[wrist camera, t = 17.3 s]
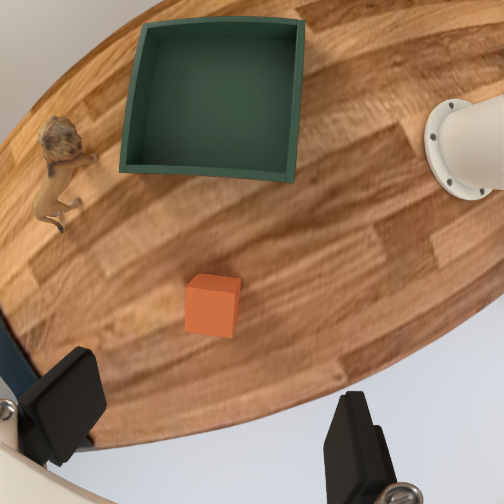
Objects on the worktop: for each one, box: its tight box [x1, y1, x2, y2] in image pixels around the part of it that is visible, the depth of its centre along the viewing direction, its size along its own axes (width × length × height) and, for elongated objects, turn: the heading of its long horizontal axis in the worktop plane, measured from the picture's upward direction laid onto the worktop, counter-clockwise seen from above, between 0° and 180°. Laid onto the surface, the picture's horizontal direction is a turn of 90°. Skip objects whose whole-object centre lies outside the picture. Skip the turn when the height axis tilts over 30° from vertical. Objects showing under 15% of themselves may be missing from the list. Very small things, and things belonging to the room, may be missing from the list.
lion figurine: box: [32, 116, 98, 233], centre depth 28 cm, size 15×5×9 cm, turn 159°
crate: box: [119, 16, 305, 183], centre depth 27 cm, size 18×18×4 cm
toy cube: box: [185, 273, 241, 338], centre depth 32 cm, size 5×5×5 cm
